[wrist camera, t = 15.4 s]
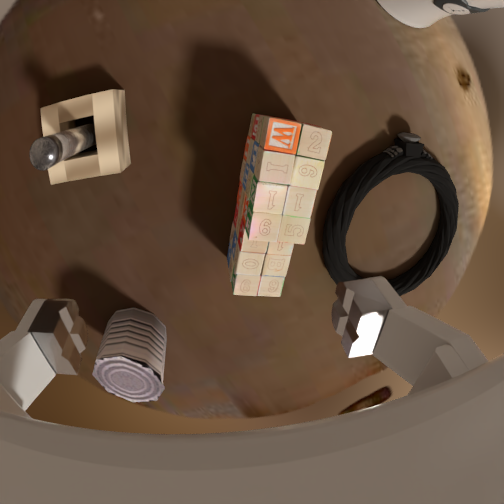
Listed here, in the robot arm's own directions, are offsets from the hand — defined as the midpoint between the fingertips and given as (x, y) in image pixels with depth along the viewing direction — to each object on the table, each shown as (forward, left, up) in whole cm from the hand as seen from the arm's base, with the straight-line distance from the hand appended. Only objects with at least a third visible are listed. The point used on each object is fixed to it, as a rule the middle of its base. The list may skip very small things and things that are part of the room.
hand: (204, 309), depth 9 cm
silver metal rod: (-4, -15, -32) cm, 36 cm away
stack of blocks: (+7, +7, -32) cm, 34 cm away
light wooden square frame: (-4, -15, -32) cm, 36 cm away
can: (+30, -15, -32) cm, 47 cm away
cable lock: (+12, +30, -33) cm, 46 cm away
